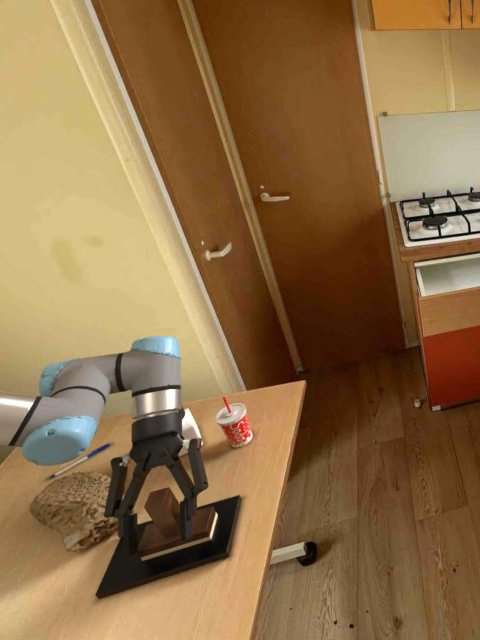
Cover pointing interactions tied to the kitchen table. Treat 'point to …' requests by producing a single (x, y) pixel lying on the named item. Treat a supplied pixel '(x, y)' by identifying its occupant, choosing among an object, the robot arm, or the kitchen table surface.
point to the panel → (171, 554)
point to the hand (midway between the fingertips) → (159, 546)
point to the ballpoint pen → (81, 460)
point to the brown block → (172, 525)
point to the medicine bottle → (188, 428)
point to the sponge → (76, 509)
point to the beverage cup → (234, 424)
